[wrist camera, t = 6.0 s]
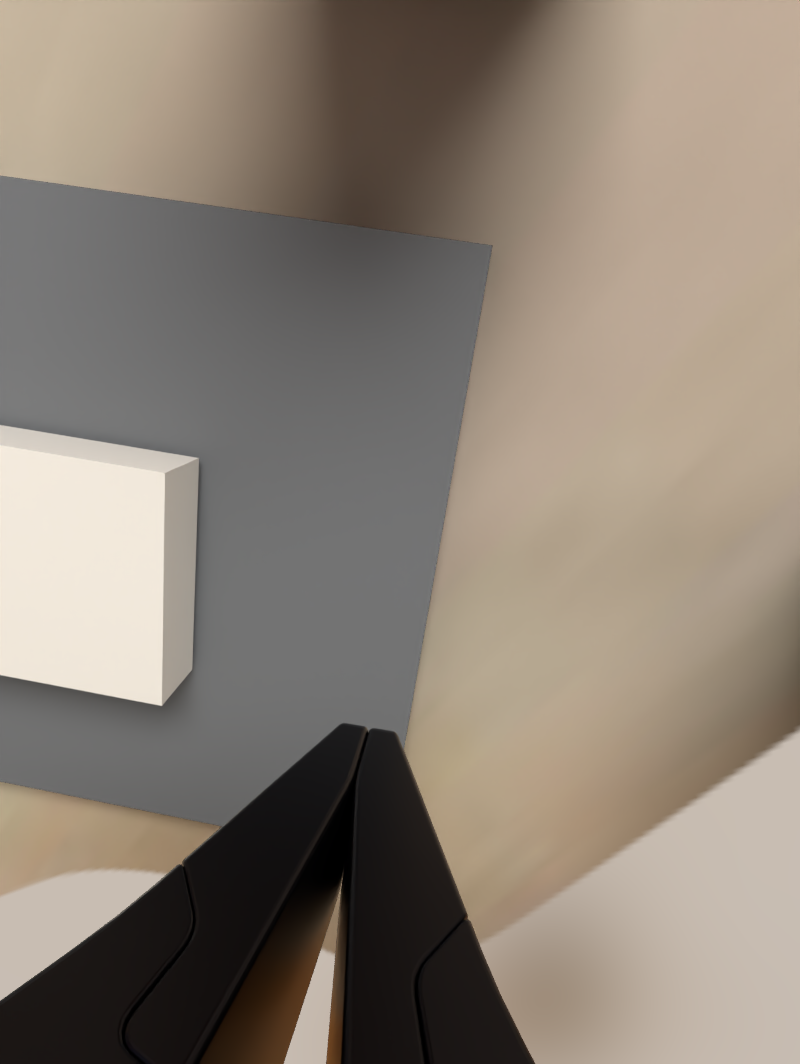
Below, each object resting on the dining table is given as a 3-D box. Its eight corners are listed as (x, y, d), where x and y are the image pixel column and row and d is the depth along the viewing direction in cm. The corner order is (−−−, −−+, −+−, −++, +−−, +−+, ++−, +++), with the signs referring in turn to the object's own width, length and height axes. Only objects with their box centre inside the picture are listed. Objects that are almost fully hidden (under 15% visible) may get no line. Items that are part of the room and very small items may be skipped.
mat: (490, 252, 16) (492, 245, 14) (388, 832, 22) (384, 859, 21) (-207, 153, 17) (-256, 139, 15) (-110, 733, 23) (-139, 753, 22)
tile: (164, 473, 15) (-167, 416, 15) (161, 705, 17) (-128, 650, 17) (202, 456, 17) (-90, 407, 17) (195, 665, 19) (-63, 617, 20)
